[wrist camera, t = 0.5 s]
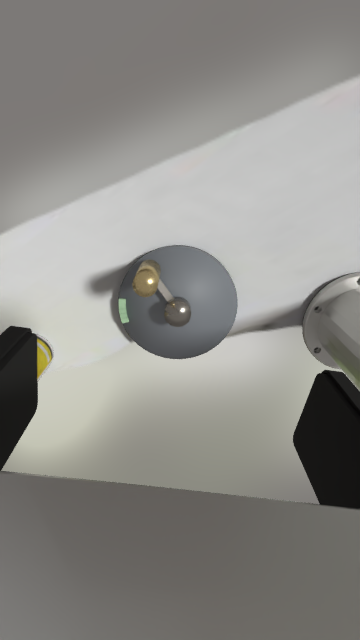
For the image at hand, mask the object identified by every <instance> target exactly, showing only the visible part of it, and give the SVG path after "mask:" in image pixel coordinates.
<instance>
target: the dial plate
mask: <svg viewBox="0 0 360 640" xmlns="http://www.w3.org/2000/svg"><path fill="white" fill-rule="evenodd" d="M145 260H154V261H156V262H157V263H158V264H159V265H160V268H161V273H160V279H161V280H162V282H163V283H164V284H165V286H166V287H167V289H168V290H169V291H170V293H171V294H172V296H173V297H182V298H185V299H186V300H187V301H188V302H189V304H190V307H191V318H190V321H189V322H188V323H187V324H186V325H184V326H182V327H174V326H171V325H170V324H168V323H167V322H166V320H165V317H164V311H165V305H166V303H167V300H166V299H165V298H164V296H163V295H162V294H161V292H160V291H159V289H158V288H157V290H156V292H155V293H154V294H153V295H152V296H150V297H141V296H139V295H137V294H136V293H135V291H134V290H133V286H132V283H133V280H134V277H135V275H136V273H137V271H138V269H139V267H140V265H141V263H142V262H143V261H145ZM118 308H119V314H120V318H121V321H122V324H123V326H124V328H125V330H126V331H127V333H128V334H129V336H130V337H131V338H132V339H133V340H134V341H135V342H136V343H137V344H138V345H139V346H141V347H142V348H143V349H145V350H147V351H148V352H150V353H153V354H155V355H158V356H161V357H164V358H171V359H186V358H191V357H195V356H198V355H201V354H204V353H206V352H208V351H209V350H211V349H212V348H214V347H215V346H217V345H218V344H219V343H220V342H221V341H222V340H223V339H224V338H225V337H226V335H227V334H228V333H229V331H230V329H231V328H232V325H233V323H234V321H235V317H236V313H237V294H236V289H235V286H234V283H233V281H232V279H231V277H230V275H229V273H228V272H227V270H226V269H225V267H224V266H223V265H222V264H221V263H220V262H219V261H218V260H217V259H216V258H214V257H213V256H211V255H210V254H208V253H207V252H205V251H202V250H200V249H197V248H194V247H190V246H184V245H173V246H166V247H161V248H158V249H155V250H153V251H151V252H149V253H147V254H145V255H144V256H143V257H141V258H140V259H139V260H138V261H137V262H136V263H135V264H134V265H133V266H132V267H131V268H130V270H129V271H128V273H127V275H126V276H125V278H124V280H123V282H122V285H121V288H120V292H119V299H118Z"/></svg>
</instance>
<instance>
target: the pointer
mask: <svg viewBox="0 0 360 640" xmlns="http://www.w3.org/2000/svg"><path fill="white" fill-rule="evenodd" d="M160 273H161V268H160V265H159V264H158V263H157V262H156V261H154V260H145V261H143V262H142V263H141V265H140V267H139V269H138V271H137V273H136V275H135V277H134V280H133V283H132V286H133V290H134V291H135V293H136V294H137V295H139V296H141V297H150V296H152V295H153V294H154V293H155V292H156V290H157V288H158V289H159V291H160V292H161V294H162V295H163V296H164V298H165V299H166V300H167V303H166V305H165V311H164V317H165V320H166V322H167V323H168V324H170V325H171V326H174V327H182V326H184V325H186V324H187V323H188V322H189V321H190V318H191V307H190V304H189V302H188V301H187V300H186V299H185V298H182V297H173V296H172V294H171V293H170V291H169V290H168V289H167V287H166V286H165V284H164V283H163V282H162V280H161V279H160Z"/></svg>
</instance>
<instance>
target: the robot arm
mask: <svg viewBox="0 0 360 640" xmlns="http://www.w3.org/2000/svg"><path fill="white" fill-rule="evenodd" d="M357 280H358V281H357ZM315 307H317V308H315ZM314 308H315V309H314ZM302 327H303V337H304V341H305V344H306V346H307V348H308V349H309V351H310V352H311V354H312V355H313V356H314V357H315V358H316V359H317V360H319V361H320V362H322V363H323V364H325V365H327V366H329V367H332V368H337V369H342V370H343V372H344V373H345V374H346V375H347V376H348V377H347V376H346V375H345V374H344V373H343V372H337V371H330V370H324V371H323V372H322V373H319V374H317V376H316V378H315V381H314V383H313V386H312V388H311V391H310V393H309V396H308V398H307V401H306V404H305V406H304V409H303V412H302V414H301V416H300V419H299V422H298V425H297V427H296V429H295V432H294V435H293V443H294V446H295V448H296V451H297V453H298V455H299V458H300V460H301V462H302V464H303V467H304V469H305V471H306V473H307V476H308V478H309V480H310V483H311V485H312V487H313V489H314V492H315V494H316V496H317V498H318V501H319V503H320V504H310V503H302V502H293V501H284V500H275V499H266V498H257V497H247V496H239V495H229V494H220V493H211V492H202V491H192V490H183V489H173V488H164V487H154V486H145V485H135V484H126V483H115V482H106V481H96V480H86V479H76V478H67V477H55V476H46V475H36V474H27V473H17V472H6V471H1V470H2V468H3V466H4V465H5V463H6V461H7V460H8V458H9V456H10V454H11V453H12V451H13V449H14V447H15V446H16V444H17V443H18V441H19V439H20V438H21V436H22V434H23V432H24V430H25V429H26V427H27V426H28V424H29V422H30V421H31V419H32V417H33V416H34V414H35V412H36V409H37V403H38V395H37V394H38V388H37V387H38V383H37V335H36V334H33V333H32V331H31V329H30V328H23V327H16V326H10V327H9V328H7V329H6V330H5V331H4V332H3V333H2V334H1V335H0V640H360V272H359V273H353V274H348V275H346V276H343V277H340V278H338V279H336V280H335V281H333V282H331V283H329V284H328V285H327V286H325V287H324V288H323V289H322V290H320V292H319V293H318V294H317V295H316V296H315V297H314V298H313V300H312V301H311V303H310V304H309V306H308V308H307V310H306V313H305V315H304V320H303V325H302ZM349 379H350V380H351V381H352V382H353V383H352V382H351V381H350V380H349ZM355 386H356V387H357V388H358V389H359V390H358V389H357V388H356V387H355Z"/></svg>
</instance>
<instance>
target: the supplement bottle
mask: <svg viewBox="0 0 360 640" xmlns="http://www.w3.org/2000/svg"><path fill="white" fill-rule="evenodd" d="M33 334H34V333H33ZM36 335H37V382H38V381H39V379H40V378H41V377H42V375H43V374H44V373H45V371H46V370H47V368H48V367H49V366H50V364H51V363H52V361H53V357H54V352H53V348H52V346H51V344H50V343H49V342H48V341H47V340H46V339H45V338H44V337H42V336H40V335H38V334H36Z"/></svg>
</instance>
